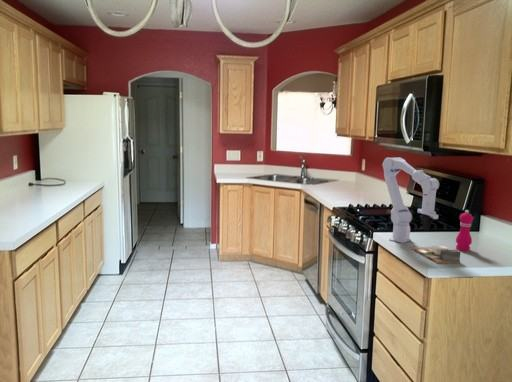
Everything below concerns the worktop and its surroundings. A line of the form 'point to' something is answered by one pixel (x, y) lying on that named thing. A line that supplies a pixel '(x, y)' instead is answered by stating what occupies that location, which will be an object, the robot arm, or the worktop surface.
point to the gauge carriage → (437, 250)
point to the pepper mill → (464, 232)
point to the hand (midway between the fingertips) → (425, 230)
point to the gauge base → (444, 256)
